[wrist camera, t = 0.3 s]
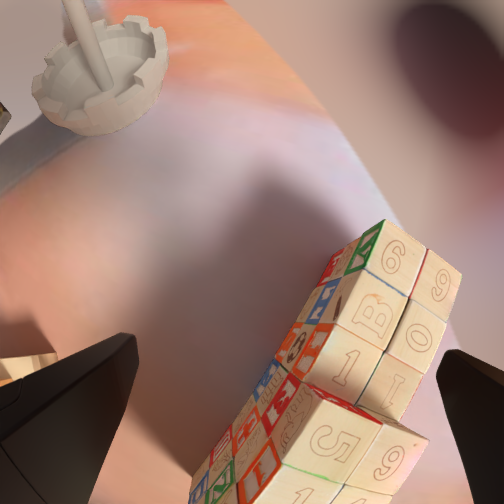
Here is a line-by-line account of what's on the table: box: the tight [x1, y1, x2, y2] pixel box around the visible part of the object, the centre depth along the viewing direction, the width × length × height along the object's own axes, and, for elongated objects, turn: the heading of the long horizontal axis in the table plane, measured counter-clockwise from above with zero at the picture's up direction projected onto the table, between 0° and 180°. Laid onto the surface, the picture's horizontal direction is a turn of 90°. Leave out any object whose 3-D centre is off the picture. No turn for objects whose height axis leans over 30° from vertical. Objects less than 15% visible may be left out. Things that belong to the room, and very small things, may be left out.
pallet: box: [0, 352, 58, 381], centre depth 17 cm, size 7×10×4 cm
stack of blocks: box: [188, 219, 462, 504], centre depth 16 cm, size 21×6×12 cm, turn 149°
